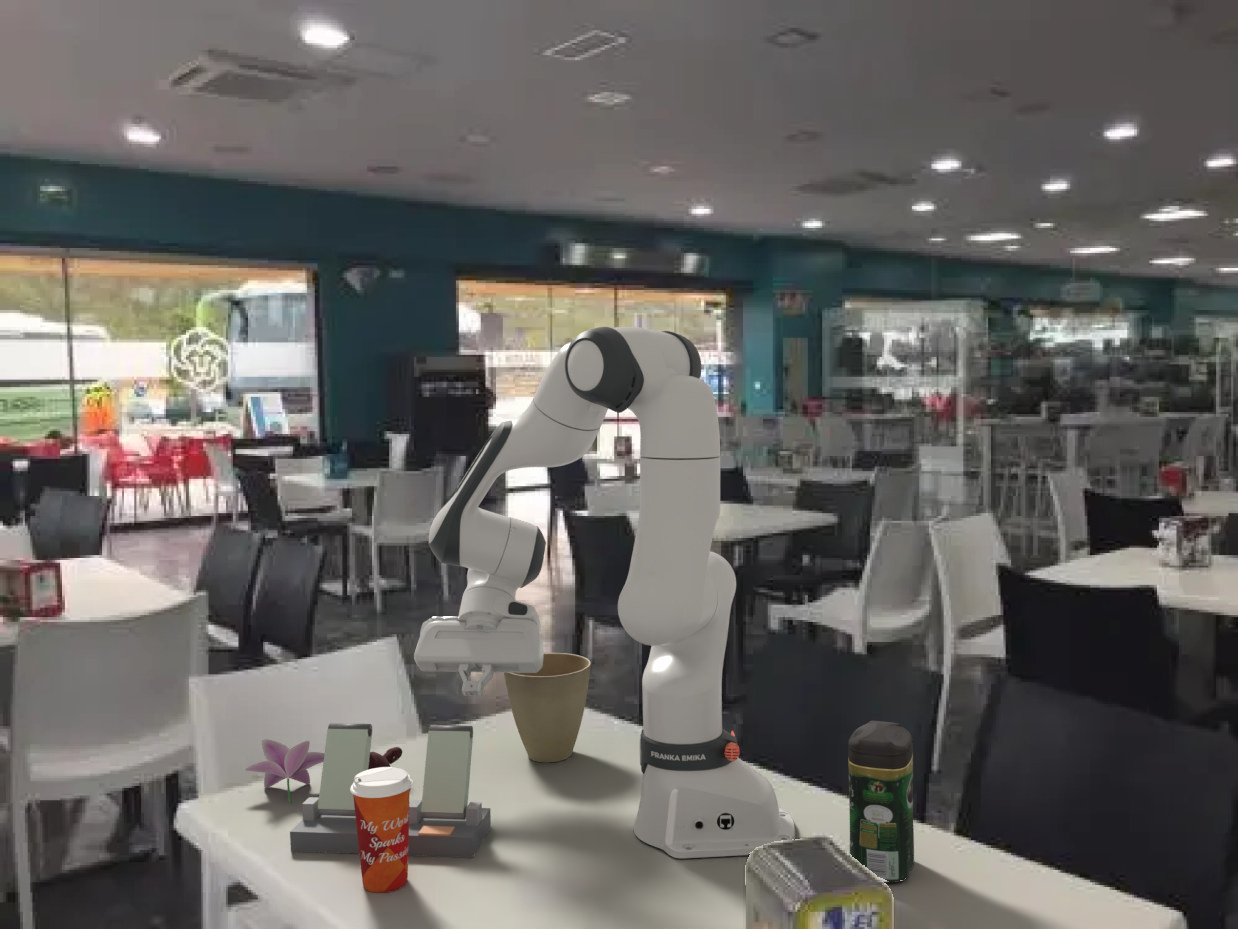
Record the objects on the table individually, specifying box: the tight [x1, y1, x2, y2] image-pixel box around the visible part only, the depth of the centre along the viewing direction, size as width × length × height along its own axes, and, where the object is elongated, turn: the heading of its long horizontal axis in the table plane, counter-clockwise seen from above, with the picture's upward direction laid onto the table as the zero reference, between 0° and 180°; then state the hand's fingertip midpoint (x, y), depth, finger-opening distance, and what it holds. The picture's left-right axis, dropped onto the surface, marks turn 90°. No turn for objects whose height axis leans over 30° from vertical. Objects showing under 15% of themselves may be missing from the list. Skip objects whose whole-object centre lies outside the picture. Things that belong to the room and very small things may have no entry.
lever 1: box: [318, 722, 373, 816], centre depth 153 cm, size 6×2×13 cm, turn 83°
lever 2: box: [421, 724, 474, 820], centre depth 151 cm, size 6×2×13 cm, turn 83°
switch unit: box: [289, 796, 492, 859], centre depth 150 cm, size 26×10×5 cm, turn 83°
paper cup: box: [350, 766, 414, 894], centre depth 137 cm, size 8×8×14 cm
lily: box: [245, 738, 325, 804], centre depth 168 cm, size 12×12×10 cm
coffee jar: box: [847, 720, 915, 883], centre depth 137 cm, size 10×8×19 cm
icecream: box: [368, 746, 403, 770], centre depth 167 cm, size 7×7×15 cm
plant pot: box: [503, 652, 592, 763], centre depth 182 cm, size 15×15×16 cm
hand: (471, 694), depth 164 cm, fingers closed
